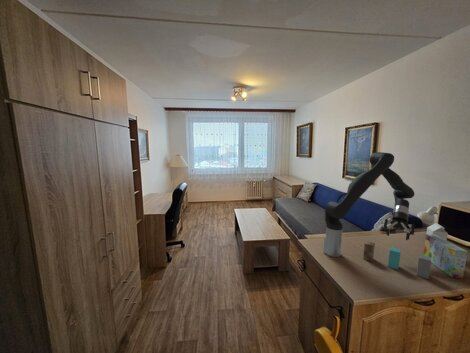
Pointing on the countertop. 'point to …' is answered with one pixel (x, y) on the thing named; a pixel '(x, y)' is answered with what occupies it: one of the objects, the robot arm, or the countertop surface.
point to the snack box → (445, 255)
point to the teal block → (394, 258)
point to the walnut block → (369, 251)
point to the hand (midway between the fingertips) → (397, 237)
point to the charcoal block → (423, 266)
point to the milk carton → (437, 231)
